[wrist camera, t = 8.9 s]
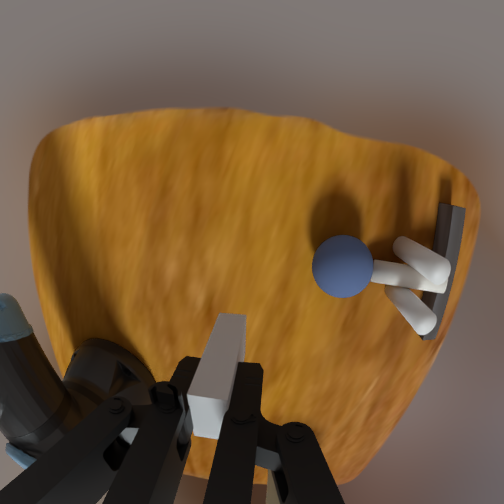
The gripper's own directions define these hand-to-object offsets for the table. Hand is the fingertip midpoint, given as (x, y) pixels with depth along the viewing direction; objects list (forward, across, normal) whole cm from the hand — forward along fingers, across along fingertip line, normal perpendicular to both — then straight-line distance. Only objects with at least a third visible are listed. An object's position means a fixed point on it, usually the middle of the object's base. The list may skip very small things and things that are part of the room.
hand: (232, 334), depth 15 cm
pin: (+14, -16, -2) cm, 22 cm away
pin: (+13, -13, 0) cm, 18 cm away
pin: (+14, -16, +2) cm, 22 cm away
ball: (+11, -9, -1) cm, 14 cm away
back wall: (+14, -22, 0) cm, 26 cm away
